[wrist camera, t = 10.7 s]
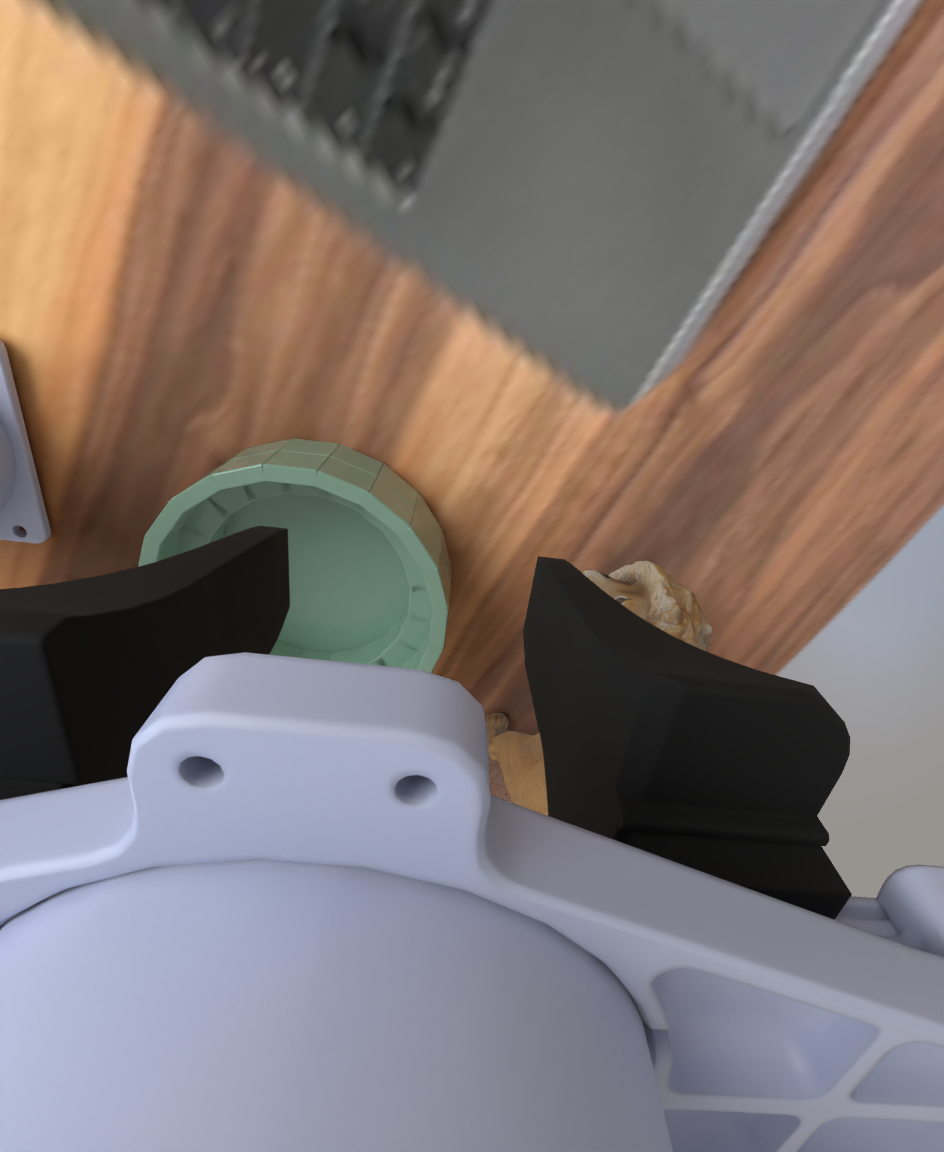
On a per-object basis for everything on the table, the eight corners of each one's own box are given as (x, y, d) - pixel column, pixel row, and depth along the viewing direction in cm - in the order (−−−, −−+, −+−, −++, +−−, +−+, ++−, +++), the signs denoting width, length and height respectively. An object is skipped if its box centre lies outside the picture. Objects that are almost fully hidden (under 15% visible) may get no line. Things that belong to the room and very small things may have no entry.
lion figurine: (550, 486, 22) (593, 596, 14) (675, 513, 23) (783, 633, 15) (472, 753, 29) (472, 929, 21) (570, 769, 30) (607, 947, 22)
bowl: (201, 660, 26) (159, 718, 23) (171, 420, 21) (111, 446, 18) (438, 682, 27) (433, 742, 23) (464, 454, 22) (462, 486, 18)
